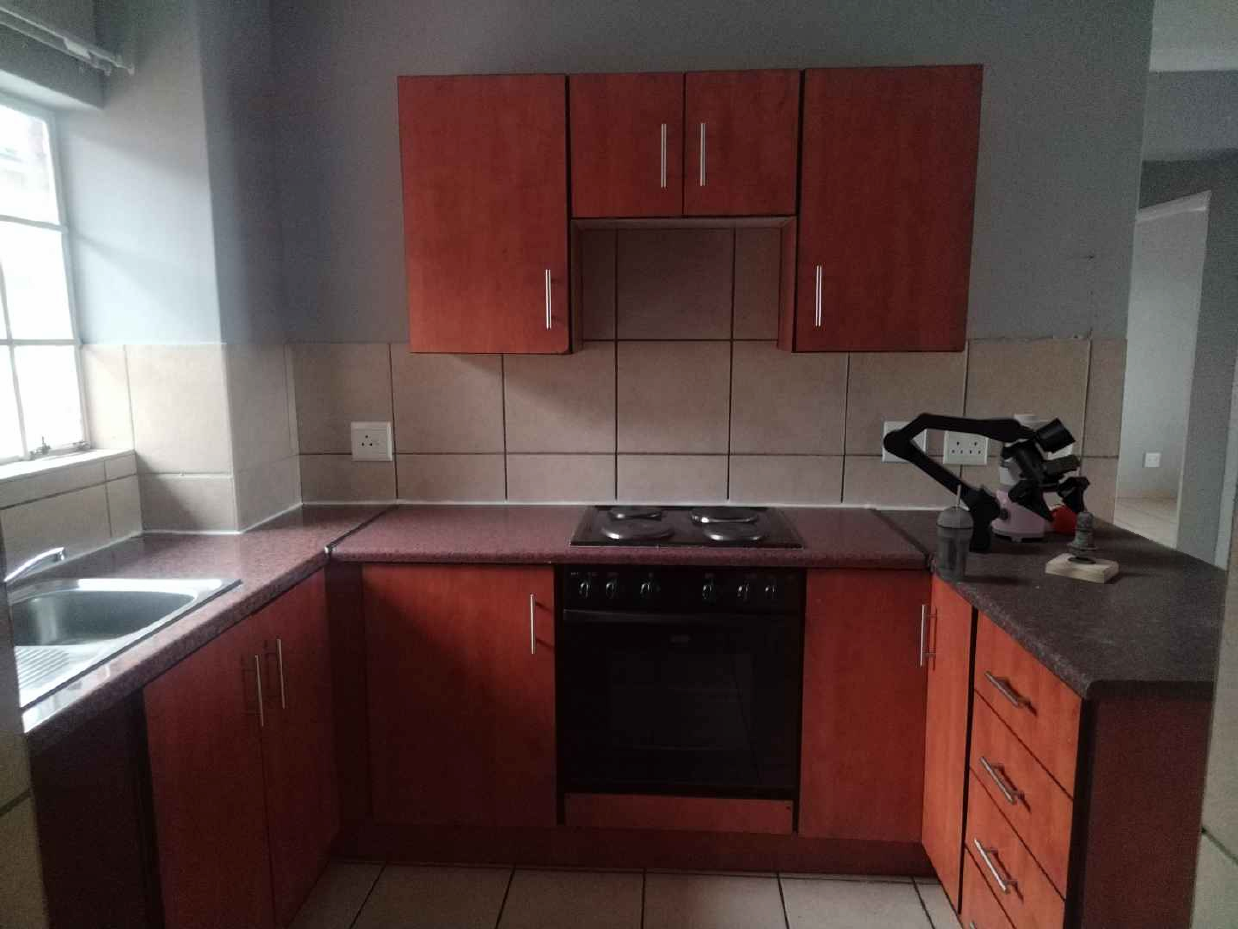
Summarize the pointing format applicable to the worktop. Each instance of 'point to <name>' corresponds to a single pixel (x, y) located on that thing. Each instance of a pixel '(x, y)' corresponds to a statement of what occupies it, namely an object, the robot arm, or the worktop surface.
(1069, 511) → the red tomato
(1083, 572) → the wooden tray
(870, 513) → the worktop surface
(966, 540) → the beverage cup
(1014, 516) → the blender
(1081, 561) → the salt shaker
